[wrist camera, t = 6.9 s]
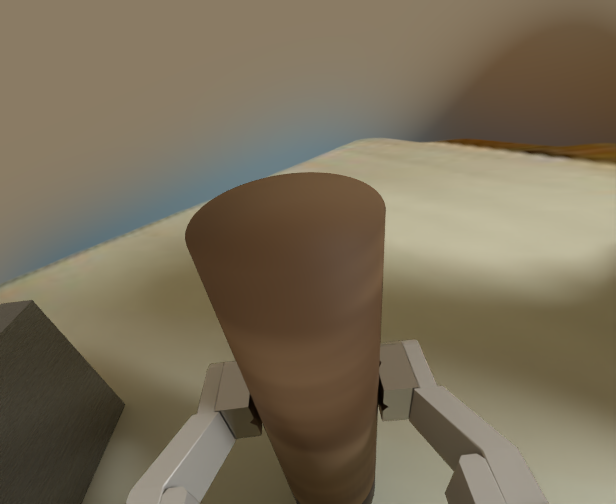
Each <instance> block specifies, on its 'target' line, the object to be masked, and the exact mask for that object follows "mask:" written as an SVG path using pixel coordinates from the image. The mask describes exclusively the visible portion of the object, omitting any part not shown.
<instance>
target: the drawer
mask: <svg viewBox="0 0 616 504" xmlns="http://www.w3.org/2000/svg"><path fill="white" fill-rule="evenodd" d="M124 405H125V404H124V402H123V401H122V400H121V399H120V398H119V397H118V396H117V395H116V394H115V392H114V391H113V390H112V389H111V388H110V387H109V386H108V385H107V383H106V382H105V381H104V380H103V379H102V378H101V377H100V376H99V374H98V373H97V372H96V371H95V370H94V369H93V368H92V367H91V365H90V364H89V363H88V362H87V361H86V360H85V359H84V358H83V356H82V355H81V354H80V353H79V352H78V351H77V350H76V349H75V347H74V346H73V345H72V344H71V343H70V342H69V341H68V340H67V338H66V337H65V336H64V335H63V334H62V333H61V332H60V331H59V330H58V328H57V327H56V326H55V325H54V324H53V323H52V322H51V321H50V319H49V318H48V317H47V316H46V315H45V314H44V313H43V312H42V310H41V309H40V308H39V307H38V306H37V305H36V304H35V303H34V301H33V300H29V301H21V302H13V303H4V304H1V305H0V504H81V503H82V501H83V499H84V496H85V494H86V492H87V489H88V487H89V485H90V483H91V480H92V478H93V476H94V473H95V471H96V469H97V467H98V464H99V462H100V460H101V458H102V455H103V453H104V451H105V448H106V446H107V444H108V442H109V439H110V437H111V435H112V433H113V430H114V428H115V426H116V423H117V421H118V419H119V417H120V414H121V412H122V410H123V407H124Z"/></svg>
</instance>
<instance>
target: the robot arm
mask: <svg viewBox="0 0 616 504" xmlns="http://www.w3.org/2000/svg"><path fill="white" fill-rule="evenodd" d="M378 406H379V410H380V414H381V418H382V421H394V420H405V419H409V421H410V422H411V423H412V425H413V426H414V427H415V428H416V429H417V430H418V431H419V432H420V434H421V435H422V436H423V437H424V438H425V439H426V440H427V441H428V443H429V444H430V445H431V446H432V447H433V448H434V449H435V451H436V452H437V453H438V454H439V455H440V456H441V457H442V458H443V460H444V461H445V462H446V463H447V464H448V465H449V466H450V467H451V469H452V470H453V471H454V473H453V476H452V478H451V480H450V482H449V485H448V487H447V489H446V492H445V495H446V498H447V501H448V504H549V503H548V501H547V499H546V497H545V495H544V494H543V492H542V490H541V488H540V486H539V485H538V483H537V481H536V479H535V477H534V476H533V474H532V472H531V470H530V468H529V467H528V465H527V463H526V461H525V460H524V458H523V456H522V454H521V452H520V451H519V449H518V447H516V446H515V445H514V444H513V443H511V442H510V441H509V440H508V439H507V438H505V437H504V436H503V435H502V434H501V433H499V432H498V431H497V430H496V429H494V428H493V427H492V426H491V425H490V424H488V423H487V422H486V421H485V420H484V419H482V418H481V417H480V416H479V415H477V414H476V413H475V412H474V411H473V410H471V409H470V408H469V407H468V406H467V405H465V404H464V403H463V402H462V401H460V400H459V399H458V398H457V397H456V396H454V395H453V394H452V393H451V392H450V391H448V390H447V389H446V388H445V387H443V386H442V385H440V386H437V384H436V382H435V379H434V377H433V375H432V372H431V370H430V368H429V365H428V363H427V361H426V358H425V356H424V354H423V351H422V349H421V347H420V345H419V342H418V341H417V340H416V339H411V340H404V341H393V342H386V343H380V364H379V389H378ZM261 434H262V421H261V418H260V416H259V414H258V411H257V409H256V407H255V404H254V402H253V400H252V397H251V395H250V393H249V390H248V388H247V386H246V383H245V381H244V379H243V376H242V374H241V371H240V369H239V367H238V364H237V362H236V361H232V362H222V363H213V364H210V365H209V367H208V369H207V373H206V377H205V381H204V386H203V390H202V394H201V398H200V402H199V406H198V411H197V414H193V415H191V417H190V418H189V419H188V420H187V422H186V423H185V424H184V425H183V426H182V428H181V429H180V430H179V431H178V433H177V434H176V435H175V436H174V438H173V439H172V440H171V441H170V442H169V444H168V445H167V446H166V447H165V449H164V450H163V451H162V452H161V453H160V455H159V456H158V457H157V458H156V460H155V461H154V462H153V463H152V464H151V466H150V467H149V468H148V469H147V471H146V472H145V473H144V474H143V475H142V477H141V478H140V479H139V480H138V482H137V483H136V484H135V485H134V487H133V488H132V489H131V490H130V493H129V495H128V498H127V501H126V504H201V503H200V502H201V500H202V499H203V497H204V495H205V494H206V492H207V490H208V488H209V487H210V485H211V483H212V481H213V480H214V478H215V476H216V474H217V473H218V471H219V469H220V468H221V466H222V464H223V462H224V461H225V459H226V457H227V455H228V454H229V452H230V450H231V448H232V447H233V445H234V443H235V441H236V440H235V439H240V438H247V437H254V436H261Z"/></svg>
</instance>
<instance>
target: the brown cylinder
mask: <svg viewBox="0 0 616 504" xmlns="http://www.w3.org/2000/svg"><path fill="white" fill-rule="evenodd" d="M385 213H386V207H385V203H384V201H383V199H382V197H381V195H380V194H379V193H378V192H377V191H376V190H375V189H373V188H372V187H371V186H369V185H367V184H366V183H364V182H362V181H359V180H357V179H354V178H351V177H347V176H342V175H337V174H331V173H314V172H308V173H291V174H283V175H277V176H271V177H267V178H263V179H259V180H255V181H252V182H249V183H246V184H243V185H240V186H238V187H235V188H233V189H231V190H228V191H226V192H224V193H222V194H221V195H219V196H217V197H215V198H214V199H212V200H211V201H209V202H208V203H207V204H205V205H204V206H203V207H202V208H201V209H200V210H199V211H198V212H197V213H196V214H195V215H194V216H193V217H192V219H191V220H190V222H189V224H188V226H187V229H186V233H185V240H186V244H187V247H188V250H189V252H190V254H191V257H192V259H193V261H194V264H195V266H196V268H197V271H198V273H199V275H200V278H201V280H202V283H203V285H204V287H205V290H206V292H207V294H208V297H209V299H210V301H211V304H212V306H213V308H214V311H215V313H216V315H217V318H218V320H219V322H220V325H221V327H222V329H223V332H224V334H225V336H226V339H227V341H228V343H229V346H230V348H231V350H232V353H233V355H234V357H235V360H236V362H237V364H238V367H239V369H240V371H241V374H242V376H243V379H244V381H245V383H246V386H247V388H248V390H249V393H250V395H251V397H252V400H253V402H254V404H255V407H256V409H257V411H258V414H259V416H260V418H261V421H262V423H263V425H264V428H265V430H266V432H267V435H268V437H269V439H270V442H271V444H272V446H273V449H274V451H275V453H276V456H277V458H278V460H279V463H280V465H281V467H282V470H283V472H284V475H285V477H286V479H287V482H288V484H289V486H290V489H291V491H292V493H293V496H294V498H295V500H296V503H297V504H371V503H372V499H373V496H374V489H375V464H376V439H377V414H378V389H379V364H380V338H381V313H382V288H383V263H384V238H385Z"/></svg>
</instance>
